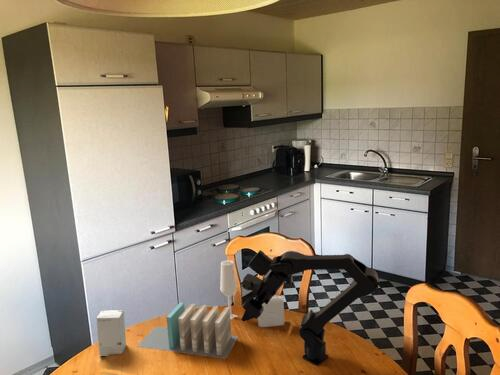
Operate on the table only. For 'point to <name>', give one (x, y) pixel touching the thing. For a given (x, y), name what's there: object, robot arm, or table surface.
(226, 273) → the champagne flute
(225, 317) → the domino
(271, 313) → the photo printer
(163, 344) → the domino board
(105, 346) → the skincare box
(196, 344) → the domino
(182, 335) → the domino
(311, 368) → the table surface
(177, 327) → the domino
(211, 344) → the domino
